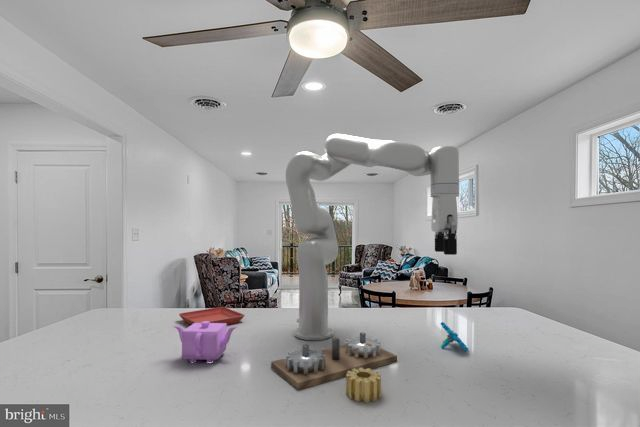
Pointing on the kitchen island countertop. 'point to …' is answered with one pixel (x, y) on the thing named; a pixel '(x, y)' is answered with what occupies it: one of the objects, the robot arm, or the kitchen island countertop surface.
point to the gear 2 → (363, 346)
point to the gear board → (332, 366)
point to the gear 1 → (305, 360)
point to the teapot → (204, 340)
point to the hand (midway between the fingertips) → (445, 252)
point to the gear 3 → (452, 338)
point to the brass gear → (363, 384)
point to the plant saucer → (212, 316)
